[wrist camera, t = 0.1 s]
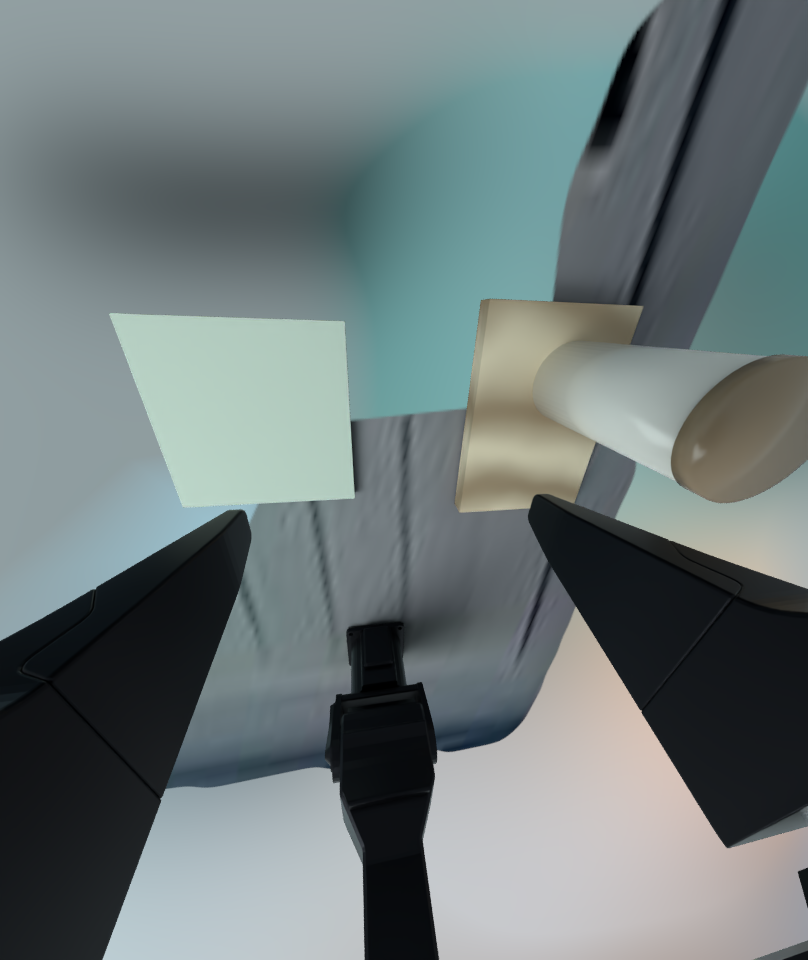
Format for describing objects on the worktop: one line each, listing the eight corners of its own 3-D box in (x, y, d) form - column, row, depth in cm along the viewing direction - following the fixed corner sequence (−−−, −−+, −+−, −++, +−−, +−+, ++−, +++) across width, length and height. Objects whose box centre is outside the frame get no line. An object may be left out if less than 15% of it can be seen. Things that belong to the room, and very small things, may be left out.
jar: (591, 420, 24) (781, 499, 13) (523, 421, 23) (669, 507, 12) (617, 339, 21) (884, 358, 10) (542, 337, 20) (750, 356, 10)
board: (563, 497, 29) (573, 505, 28) (454, 503, 27) (459, 512, 26) (625, 306, 21) (643, 306, 20) (481, 300, 20) (490, 298, 18)
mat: (354, 494, 25) (354, 498, 25) (186, 503, 23) (183, 507, 23) (344, 321, 19) (344, 321, 19) (116, 313, 17) (109, 313, 17)
